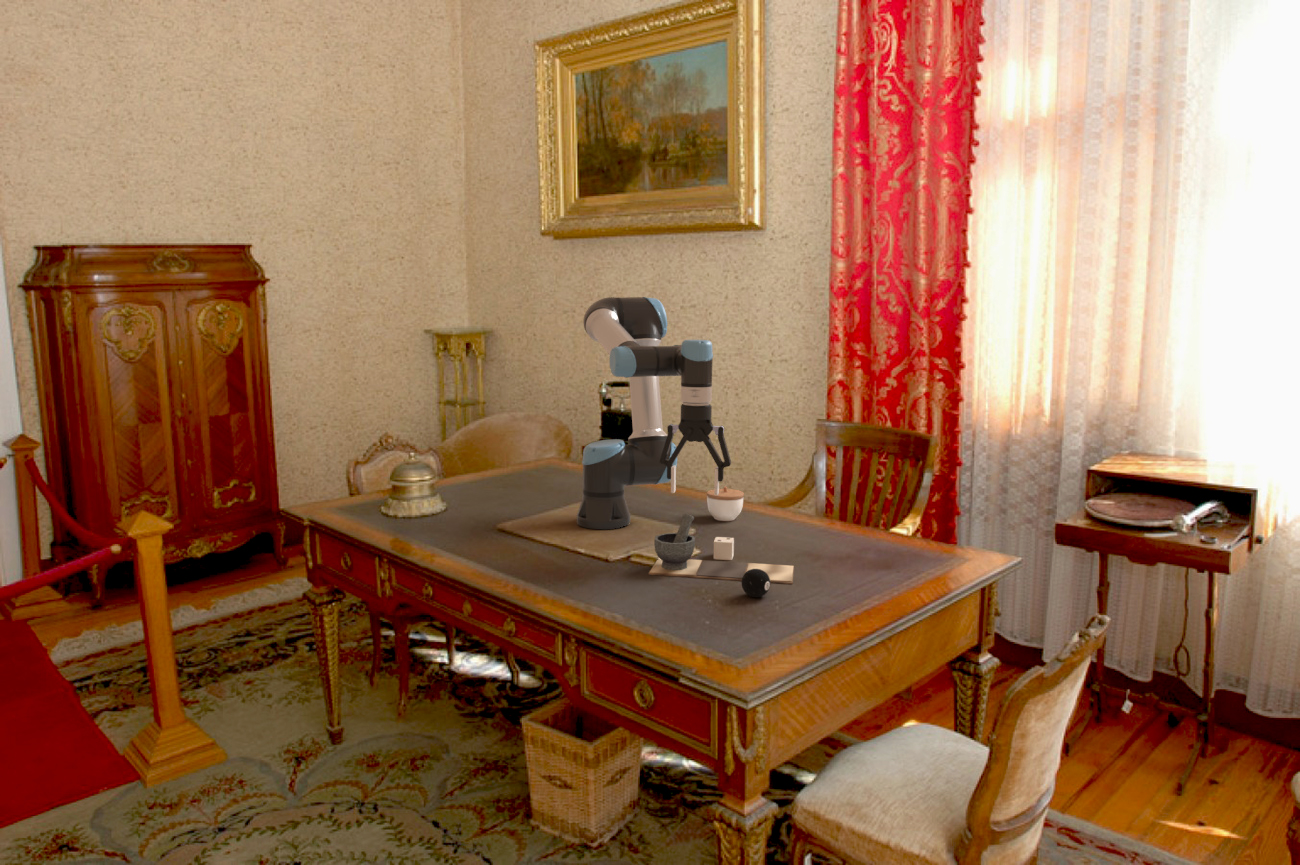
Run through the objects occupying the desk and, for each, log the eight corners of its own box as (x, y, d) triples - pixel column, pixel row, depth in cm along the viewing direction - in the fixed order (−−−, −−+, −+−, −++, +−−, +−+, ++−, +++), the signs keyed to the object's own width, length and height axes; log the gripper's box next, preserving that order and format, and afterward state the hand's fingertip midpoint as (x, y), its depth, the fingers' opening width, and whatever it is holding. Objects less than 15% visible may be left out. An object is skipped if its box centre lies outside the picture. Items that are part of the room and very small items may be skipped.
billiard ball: (751, 589, 199) (752, 563, 198) (774, 595, 195) (775, 569, 194) (736, 596, 194) (736, 569, 193) (759, 602, 191) (760, 575, 190)
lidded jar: (743, 514, 267) (743, 483, 266) (743, 523, 257) (744, 491, 255) (706, 513, 268) (707, 482, 267) (705, 522, 258) (706, 490, 256)
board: (648, 574, 209) (648, 572, 209) (658, 558, 222) (658, 556, 222) (792, 584, 203) (792, 581, 203) (794, 567, 216) (794, 565, 216)
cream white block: (713, 559, 222) (713, 541, 221) (715, 554, 226) (716, 536, 226) (731, 560, 221) (732, 542, 220) (733, 555, 226) (733, 537, 225)
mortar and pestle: (676, 575, 207) (677, 524, 205) (645, 567, 213) (646, 517, 211) (706, 564, 216) (707, 515, 214) (676, 556, 222) (676, 509, 220)
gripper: (647, 404, 218) (646, 494, 221) (741, 406, 214) (739, 498, 217) (653, 400, 225) (652, 487, 229) (744, 403, 221) (742, 492, 224)
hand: (694, 493), depth 223 cm, fingers open, 10 cm apart
